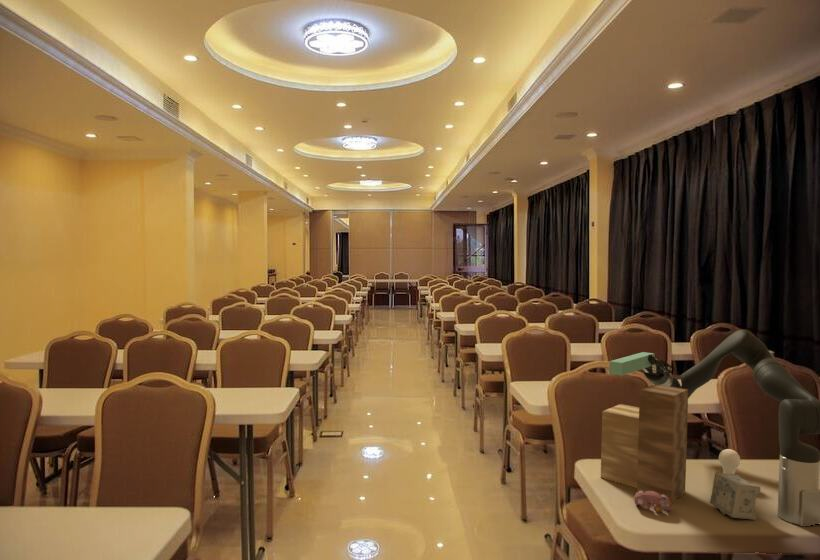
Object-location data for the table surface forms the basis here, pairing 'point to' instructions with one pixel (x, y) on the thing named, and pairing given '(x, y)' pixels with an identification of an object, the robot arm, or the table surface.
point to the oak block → (620, 444)
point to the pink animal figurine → (652, 500)
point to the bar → (630, 363)
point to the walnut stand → (662, 440)
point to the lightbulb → (729, 461)
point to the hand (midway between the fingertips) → (642, 356)
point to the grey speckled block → (734, 496)
